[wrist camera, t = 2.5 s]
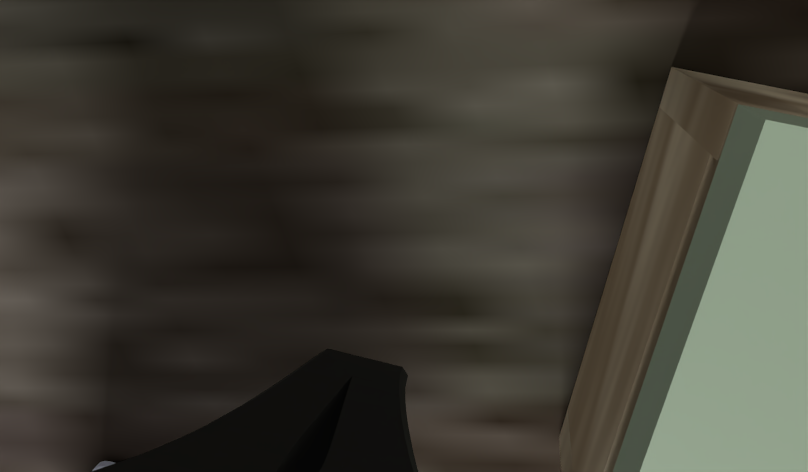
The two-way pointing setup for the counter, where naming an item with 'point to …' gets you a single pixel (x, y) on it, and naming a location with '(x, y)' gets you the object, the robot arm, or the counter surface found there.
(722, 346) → the lid
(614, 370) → the cubby
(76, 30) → the counter surface
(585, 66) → the counter surface
